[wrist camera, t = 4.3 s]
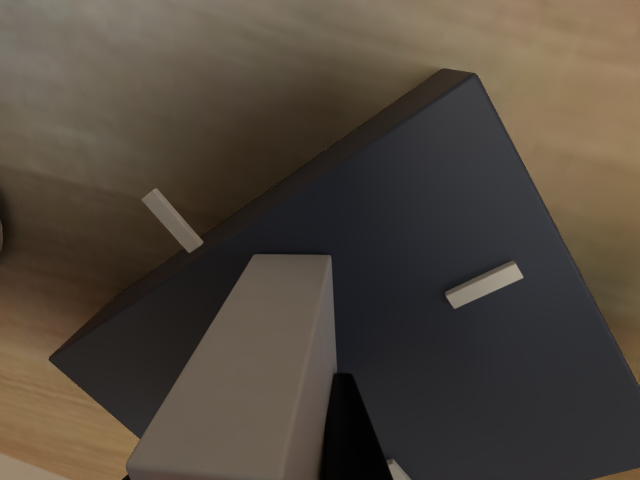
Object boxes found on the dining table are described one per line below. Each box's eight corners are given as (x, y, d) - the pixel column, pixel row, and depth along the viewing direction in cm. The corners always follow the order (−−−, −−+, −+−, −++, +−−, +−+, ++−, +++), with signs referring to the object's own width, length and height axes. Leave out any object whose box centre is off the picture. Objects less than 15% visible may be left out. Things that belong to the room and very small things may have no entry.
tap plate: (293, 472, 16) (275, 564, 13) (78, 260, 12) (-10, 320, 9) (606, 364, 11) (683, 466, 9) (407, -1, 8) (425, -32, 5)
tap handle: (341, 454, 10) (316, 742, 6) (282, 449, 10) (217, 724, 6) (331, 253, 8) (275, 508, 3) (253, 253, 8) (105, 490, 3)
